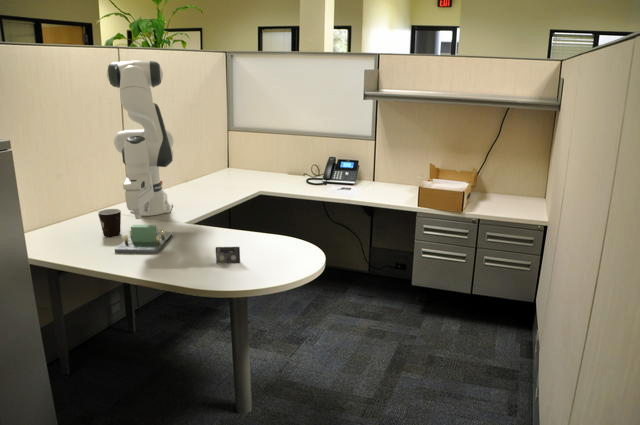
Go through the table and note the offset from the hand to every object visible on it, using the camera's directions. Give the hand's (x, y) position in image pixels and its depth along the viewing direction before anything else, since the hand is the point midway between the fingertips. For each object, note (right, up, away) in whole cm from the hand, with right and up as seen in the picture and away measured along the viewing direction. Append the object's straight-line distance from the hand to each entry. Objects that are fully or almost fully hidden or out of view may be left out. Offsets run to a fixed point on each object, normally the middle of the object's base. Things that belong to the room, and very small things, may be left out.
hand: (142, 215), depth 204 cm
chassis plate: (0, -11, +3) cm, 12 cm away
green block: (0, -10, +3) cm, 10 cm away
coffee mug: (-17, -9, +13) cm, 23 cm away
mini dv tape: (+36, -17, -16) cm, 43 cm away
